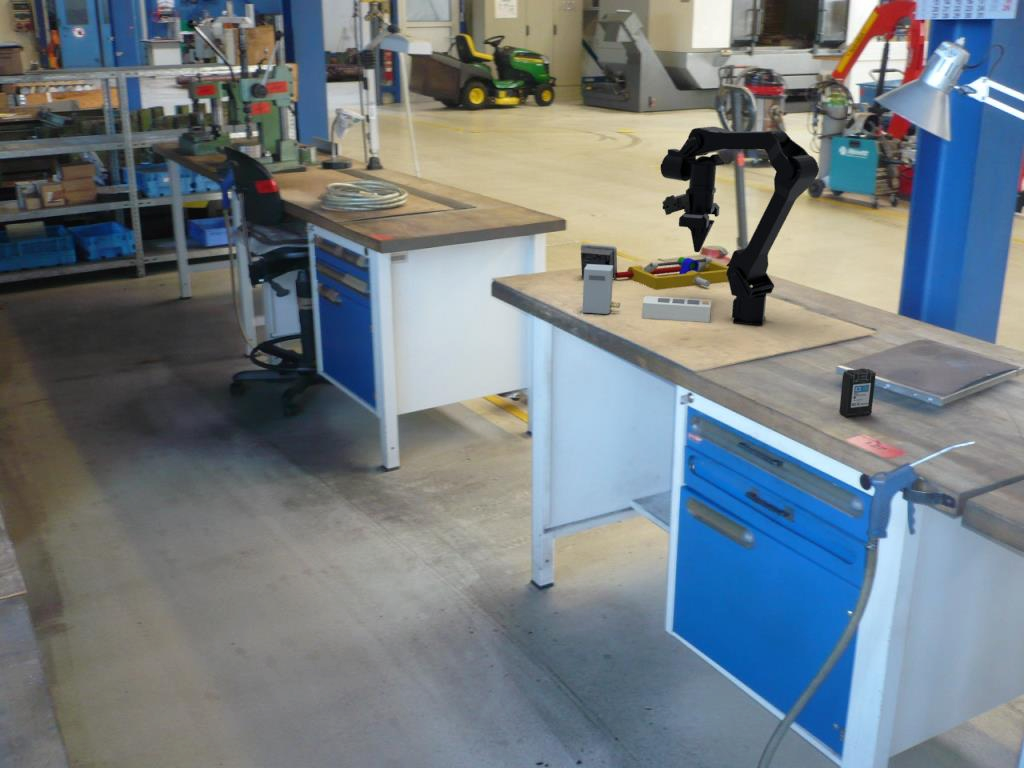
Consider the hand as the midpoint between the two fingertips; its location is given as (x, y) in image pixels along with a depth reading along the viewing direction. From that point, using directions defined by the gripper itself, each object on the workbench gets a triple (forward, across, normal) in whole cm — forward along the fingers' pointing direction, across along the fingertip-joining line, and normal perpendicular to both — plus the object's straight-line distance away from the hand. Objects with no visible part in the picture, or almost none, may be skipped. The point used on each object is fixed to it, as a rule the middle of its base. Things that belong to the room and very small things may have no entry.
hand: (697, 251), depth 246 cm
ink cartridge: (+13, +61, +39) cm, 74 cm away
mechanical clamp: (+14, -23, -7) cm, 28 cm away
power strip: (+13, +5, -3) cm, 14 cm away
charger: (+13, +13, -19) cm, 26 cm away
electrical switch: (+13, -17, -28) cm, 35 cm away
